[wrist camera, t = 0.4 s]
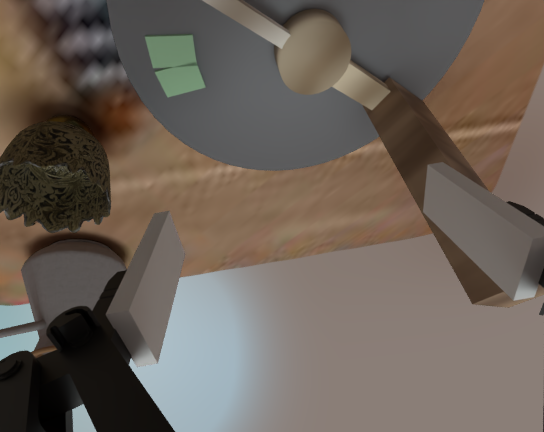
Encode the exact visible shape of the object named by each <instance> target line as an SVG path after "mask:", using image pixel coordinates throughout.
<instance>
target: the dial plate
mask: <svg viewBox="0 0 544 432" xmlns="http://www.w3.org/2000/svg"><path fill="white" fill-rule="evenodd" d="M106 1H107V7H108V13H109V19H110V25H111V31H112V34H113V38H114V41H115V44H116V48H117V51H118V54H119V58H120V60H121V62H122V64H123V67H124V69H125V71H126V73H127V76H128V78H129V80H130V82H131V84H132V85H133V87H134V89H135V90H136V92H137V94H138V95H139V97H140V99H141V100H142V102H143V103H144V104H145V105H146V107H147V108H148V109H149V111H150V112H151V113H152V114H153V116H154V117H155V118H156V119H157V120H158V121H159V122H160V123H161V124H162V125H163V126H164V127H165V128H166V129H167V130H168V131H169V132H170V133H172V134H173V135H174V136H175V137H177V138H178V139H179V140H180V141H182V142H183V143H184V144H186V145H188V146H189V147H191V148H193V149H194V150H196V151H197V152H199V153H201V154H204V155H206V156H208V157H210V158H212V159H214V160H217V161H220V162H223V163H226V164H229V165H233V166H237V167H242V168H247V169H255V170H275V171H277V170H291V169H298V168H304V167H309V166H313V165H317V164H321V163H325V162H328V161H331V160H334V159H336V158H339V157H342V156H344V155H346V154H348V153H351V152H353V151H355V150H357V149H359V148H361V147H362V146H364V145H366V144H368V143H370V142H371V141H373V140H375V139H376V138H378V137H379V134H378V133H377V131H376V129H375V127H374V125H373V124H372V122H371V120H370V118H369V116H368V115H367V113H366V111H365V109H364V107H363V106H362V104H360V103H359V102H357V101H355V100H354V99H352V98H350V97H349V96H347V95H345V94H344V93H342V92H340V91H338V90H337V89H335V88H333V87H330V88H329V89H327V90H325V91H323V92H320V93H317V94H312V95H304V94H299V93H296V92H294V91H292V90H291V89H289V88H288V87H287V86H286V85H285V83H284V82H283V80H282V77H281V75H280V72H279V69H278V66H277V63H276V60H275V56H274V46H275V45H274V44H273V43H271V42H270V41H268V40H266V39H265V38H263V37H261V36H260V35H258V34H256V33H255V32H253V31H252V30H250V29H248V28H247V27H245V26H243V25H242V24H240V23H238V22H237V21H235V20H233V19H232V18H230V17H229V16H227V15H225V14H224V13H222V12H220V11H219V10H217V9H215V8H214V7H212V6H211V5H209V4H207V3H206V2H204V1H202V0H106ZM243 1H245V2H246V3H248V4H249V5H251V6H252V7H254V8H255V9H257V10H258V11H260V12H261V13H263V14H265V15H266V16H268V17H269V18H271V19H272V20H274V21H275V22H277V23H278V24H280V25H281V26H283V25H284V24H285V23H286V22H287V21H288V20H289V19H290V18H291V17H292V16H294V15H295V14H297V13H299V12H301V11H304V10H308V9H321V10H325V11H327V12H329V13H331V14H332V15H333V16H334V17H335V18H336V19H337V20H338V22H339V24H340V25H341V27H342V28H343V30H344V31H345V33H346V35H347V36H348V38H349V41H350V44H351V59H350V60H352V61H353V62H354V63H356V64H357V65H359V66H360V67H362V68H363V69H365V70H366V71H368V72H369V73H370V74H372V75H373V76H375V77H376V78H378V79H379V80H381V81H382V82H383V83H384V82H385V81H386V80H387V79H388V78H389V77H390V78H391V79H393V80H394V81H395V82H397V83H398V84H400V85H401V86H402V87H404V88H405V89H407V90H408V91H409V92H411V93H412V94H414V95H415V96H416V97H418V98H419V99H421V100H423V99H424V98H425V97H426V96H427V95H428V94H429V93H430V92H431V90H432V89H433V88H434V87H435V86H436V84H437V83H438V82H439V81H440V79H441V78H442V77H443V76H444V74H445V73H446V71H447V70H448V69H449V67H450V66H451V64H452V63H453V61H454V60H455V58H456V57H457V55H458V54H459V52H460V50H461V48H462V47H463V45H464V43H465V42H466V40H467V38H468V36H469V35H470V32H471V30H472V28H473V26H474V24H475V22H476V20H477V17H478V15H479V13H480V11H481V8H482V5H483V3H484V0H243Z"/></svg>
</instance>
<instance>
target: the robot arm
mask: <svg viewBox="0 0 544 432" xmlns="http://www.w3.org/2000/svg"><path fill="white" fill-rule="evenodd" d="M423 213H424V214H425V215H427V216H428V217H429V218H430V219H431V220H432V221H433V222H434V223H435V224H436V225H437V226H438V227H439V228H440V229H441V230H442V231H443V232H444V233H445V234H446V235H447V236H448V237H449V238H450V239H451V240H452V241H453V242H454V243H455V244H456V245H457V246H458V247H459V248H460V249H461V250H462V251H463V252H464V253H465V254H466V255H467V256H468V257H469V258H470V259H471V260H472V261H473V262H474V263H475V264H476V265H477V266H478V267H479V268H481V269H482V270H483V271H484V272H485V273H486V274H487V275H488V276H489V277H490V278H491V279H492V280H493V281H494V282H495V283H496V284H497V285H498V286H499V287H500V288H501V289H502V290H503V291H504V292H505V293H506V294H507V295H508V296H509V297H510V298H511V299H512V300H513V301H515V300H521V299H527V298H532V297H535V294H536V291H537V288H538V286H539V284H540V285H541V286H542V287H543V288H544V219H543V218H542V217H541V216H539V215H537V214H535V213H534V212H533V211H531V210H529V209H528V208H526V207H524V206H522V205H519V204H516V203H513V202H510V201H509V202H505V201H503V200H502V199H500V198H498V197H497V196H495V195H494V194H492V193H491V192H489V191H488V190H486V189H484V188H483V187H481V186H480V185H478V184H477V183H475V182H473V181H472V180H470V179H469V178H467V177H466V176H464V175H462V174H461V173H459V172H458V171H456V170H455V169H453V168H451V167H450V166H448V165H447V164H445V163H444V162H440V163H434V164H429V165H428V166H427V176H426V186H425V196H424V207H423ZM184 257H185V252H184V249H183V247H182V244H181V241H180V239H179V236H178V233H177V230H176V228H175V225H174V222H173V220H172V217H171V214H170V211H165V212H160V213H154V215H153V217H152V219H151V221H150V223H149V225H148V228H147V230H146V232H145V234H144V236H143V238H142V240H141V242H140V244H139V246H138V248H137V250H136V252H135V254H134V257H133V259H132V261H131V263H130V265H129V267H128V269H127V270H125V271H119V272H117V273H116V274H115V275H114V276H113V277H112V278H111V279H110V280H109V281H108V282H107V284H106V286H105V288H104V290H103V291H104V292H102V294H101V295H100V297H99V300H98V301H97V303H96V305H95V307H94V308H93V310H91V309H90V308H89V307H87V306H77V307H73V308H70V309H68V310H66V311H64V312H63V313H61V314H60V315H58V316H57V317H56V318H55V319H54V320H53V321H52V322H51V323H50V324H49V326H48V328H47V330H46V336H47V337H48V338H49V339H50V341H51V342H52V343H53V345H54V346H55V347H56V349H57V350H54V351H52V352H50V353H47V354H45V355H42V356H40V357H38V358H36V357H35V356H34V355H33V354H32V353H31V352H29V351H19V352H16V353H14V354H11V355H9V356H8V357H6V358H4V359H2V360H1V361H0V432H73V419H72V409H74V408H76V407H78V406H80V405H82V404H84V405H85V408H86V409H87V412H88V414H89V416H90V418H91V420H92V423H93V425H94V427H95V429H96V431H97V432H175V431H174V430H173V428H172V427H171V425H170V424H169V422H168V421H167V420H166V418H165V417H164V415H163V414H162V413H161V411H160V410H159V408H158V407H157V405H156V404H155V403H154V401H153V399H152V398H151V397H150V395H149V394H148V392H147V391H146V389H145V388H144V387H143V385H142V384H141V382H140V381H139V379H138V378H137V377H136V375H135V374H134V372H133V371H132V369H131V368H130V366H129V362H130V359H131V358H132V360H133V361H134V363H135V364H136V366H137V367H140V366H146V365H152V364H157V363H158V360H159V356H160V352H161V348H162V344H163V340H164V337H165V332H166V329H167V325H168V320H169V317H170V313H171V309H172V305H173V301H174V297H175V293H176V289H177V285H178V281H179V277H180V273H181V269H182V265H183V261H184ZM539 315H544V303H543V306H542V308H541V311H540V313H539ZM543 411H544V408H543ZM543 415H544V412H543ZM543 432H544V416H543Z"/></svg>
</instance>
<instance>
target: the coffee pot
mask: <svg viewBox="0 0 544 432" xmlns="http://www.w3.org/2000/svg"><path fill="white" fill-rule="evenodd" d="M125 270H127V269H126V266H125V264H124V262H123V260H122V259H121V258H120V257H119V256H118V255H117V254H116V253H115V252H113V251H112V250H111V249H110V248H109V247H107V246H105V245H104V244H101V243H98V242H95V241H90V240H83V239H68V240H63V241H58V242H56V243H53V244H51V245H50V246H48V247H45V248H43V249H41V250H39V251H37V252H36V253H34V254H33V255H31V256H30V257H29V258H28V259H27V260H26V261H25V263H24V265H23V267H22V269H21V272H22V276H23V280H24V284H25V287H26V291H27V295H28V298H29V302H30V305H31V309H32V313H33V316H34V320H35V322H32V323H27V324H23V325H18V326H14V327H10V328H6V329H1V330H0V338H2V337H7V336H11V335H16V334H21V333H26V332H31V331H36V330H37V331H38V335H39V341H38V343H37V345H36V347H35V350H34V351H32V352H31V353H32V354H33V355H34V356H35V357H36V358H38V357H40V356H42V355H45V354H47V353H50V352H52V351H54V350H57V349H56V347H55V346H54V345H53V343H52V342H51V341H50V339H49V338H48V337H47V336H46V330H47V328H48V326H49V324H50V323H51V322H52V321H53V320H54V319H55V318H56V317H57V316H58V315H60V314H61V313H63V312H64V311H66V310H68V309H70V308H73V307H77V306H87V307H89V308H90V309H91V310H93V308H94V307H95V305H96V303H97V301H98V300H99V297H100V295H101V294H102V292H104V291H103V290H104V288H105V286H106V284H107V282H108V281H109V280H110V279H111V278H112V277H113V276H114V275H115V274H116V273H117V272H119V271H125Z"/></svg>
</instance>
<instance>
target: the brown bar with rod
mask: <svg viewBox="0 0 544 432" xmlns="http://www.w3.org/2000/svg"><path fill="white" fill-rule="evenodd" d="M202 1H204V2H206V3H207V4H209V5H211V6H212V7H214V8H215V9H217V10H219V11H220V12H222V13H224V14H225V15H227V16H229V17H230V18H232V19H233V20H235V21H237V22H238V23H240V24H242V25H243V26H245V27H247V28H248V29H250V30H252V31H253V32H255V33H256V34H258V35H260V36H261V37H263V38H265V39H266V40H268V41H270V42H271V43H273V44H274V45H275V46H274V56H275V60H276V63H277V66H278V69H279V72H280V75H281V77H282V80H283V82H284V83H285V85H286V86H287V87H288V88H289V89H291V90H292V91H294V92H296V93H299V94H304V95H312V94H317V93H320V92H323V91H325V90H327V89H329V88H330V87H333V88H335V89H337V90H338V91H340V92H342V93H344V94H345V95H347V96H349V97H350V98H352V99H354V100H355V101H357V102H359V103H360V104H362V106H363V107H364V109H365V111H366V113H367V115H368V116H369V118H370V120H371V122H372V124H373V125H374V127H375V129H376V131H377V133H378V134H379V136H380V138H381V140H382V142H383V143H384V145H385V147H386V149H387V151H388V153H389V154H390V156H391V158H392V160H393V162H394V163H395V165H396V167H397V169H398V171H399V172H400V174H401V176H402V178H403V180H404V181H405V183H406V185H407V187H408V189H409V190H410V192H411V194H412V196H413V198H414V199H415V201H416V203H417V205H418V207H419V208H420V210H421V212H422V214H423V216H424V218H425V219H426V221H427V223H428V225H429V227H430V228H431V230H432V232H433V234H434V236H435V237H436V239H437V241H438V243H439V245H440V246H441V248H442V250H443V252H444V254H445V255H446V257H447V259H448V261H449V262H450V264H451V266H452V268H453V269H454V272H455V273H456V275H457V277H458V279H459V281H460V282H461V284H462V286H463V288H464V290H465V292H466V293H467V295H468V297H469V299H470V301H471V302H472V304H475V305H486V306H497V307H508V308H509V307H511V306H514V305H517V304H520V303H522V302H525V301H528V300H531V299H533V298H536V297H539V296H542V295H544V288H543V287H542V286H541V285H540V284H539V286H538V288H537V291H536V294H535V297H532V298H527V299H521V300H515V301H513V300H512V299H511V298H510V297H509V296H508V295H507V294H506V293H505V292H504V291H503V290H502V289H501V288H500V287H499V286H498V285H497V284H496V283H495V282H494V281H493V280H492V279H491V278H490V277H489V276H488V275H487V274H486V273H485V272H484V271H483V270H482V269H481V268H479V267H478V266H477V265H476V264H475V263H474V262H473V261H472V260H471V259H470V258H469V257H468V256H467V255H466V254H465V253H464V252H463V251H462V250H461V249H460V248H459V247H458V246H457V245H456V244H455V243H454V242H453V241H452V240H451V239H450V238H449V237H448V236H447V235H446V234H445V233H444V232H443V231H442V230H441V229H440V228H439V227H438V226H437V225H436V224H435V223H434V222H433V221H432V220H431V219H430V218H429V217H428V216H427V215H425V214H424V213H423V207H424V196H425V186H426V176H427V166H428V165H429V164H434V163H440V162H444V163H445V164H447V165H448V166H450V167H451V168H453V169H455V170H456V171H458V172H459V173H461V174H462V175H464V176H466V177H467V178H469V179H470V180H472V181H473V182H475V183H477V184H478V185H480V186H481V187H483V188H484V189H486V190H488V189H487V188H486V186H485V185H484V183H483V182H482V181H481V179H480V178H479V177H478V175H477V174H476V173H475V171H474V170H473V168H472V167H471V166H470V164H469V163H468V162H467V160H466V159H465V158H464V156H463V155H462V154H461V152H460V151H459V149H458V148H457V147H456V145H455V144H454V143H453V141H452V140H451V139H450V137H449V136H448V134H447V133H446V132H445V130H444V129H443V128H442V126H441V125H440V124H439V122H438V121H437V120H436V118H435V117H434V115H433V114H432V113H431V111H430V110H429V109H428V107H427V106H426V105H425V103H424V102H423V101H422V100H421V99H419V98H418V97H416V96H415V95H414V94H412V93H411V92H409V91H408V90H407V89H405V88H404V87H402V86H401V85H400V84H398V83H397V82H395V81H394V80H393V79H391V78H390V77H389V78H388V79H387V80H386V81H385V82H384V83H383V82H382V81H381V80H379V79H378V78H376V77H375V76H373V75H372V74H370V73H369V72H368V71H366V70H365V69H363V68H362V67H360V66H359V65H357V64H356V63H354V62H353V61H352V60H350V59H351V44H350V41H349V38H348V36H347V35H346V33H345V31H344V30H343V28H342V27H341V25H340V24H339V22H338V20H337V19H336V18H335V17H334V16H333V15H332V14H331V13H329V12H327V11H325V10H321V9H308V10H304V11H301V12H299V13H297V14H295V15H294V16H292V17H291V18H290V19H289V20H288V21H287V22H286V23H285V24H284V25H283V26H281V25H280V24H278V23H277V22H275V21H274V20H272V19H271V18H269V17H268V16H266V15H265V14H263V13H261V12H260V11H258V10H257V9H255V8H254V7H252V6H251V5H249V4H248V3H246V2H245V1H243V0H202ZM488 191H489V190H488Z"/></svg>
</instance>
